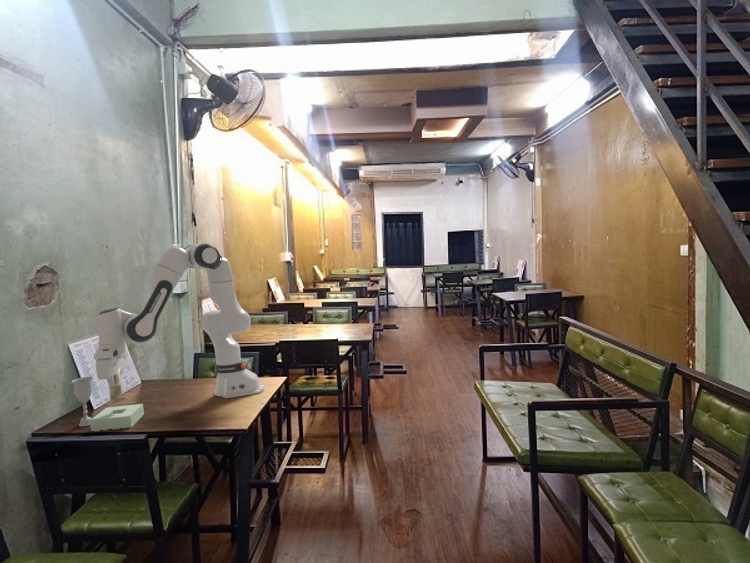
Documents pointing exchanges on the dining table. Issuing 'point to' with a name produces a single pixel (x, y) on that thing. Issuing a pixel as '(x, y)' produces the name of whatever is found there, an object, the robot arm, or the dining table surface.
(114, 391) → the peg
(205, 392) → the dining table surface
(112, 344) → the robot arm
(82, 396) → the chalice
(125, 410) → the socket block
